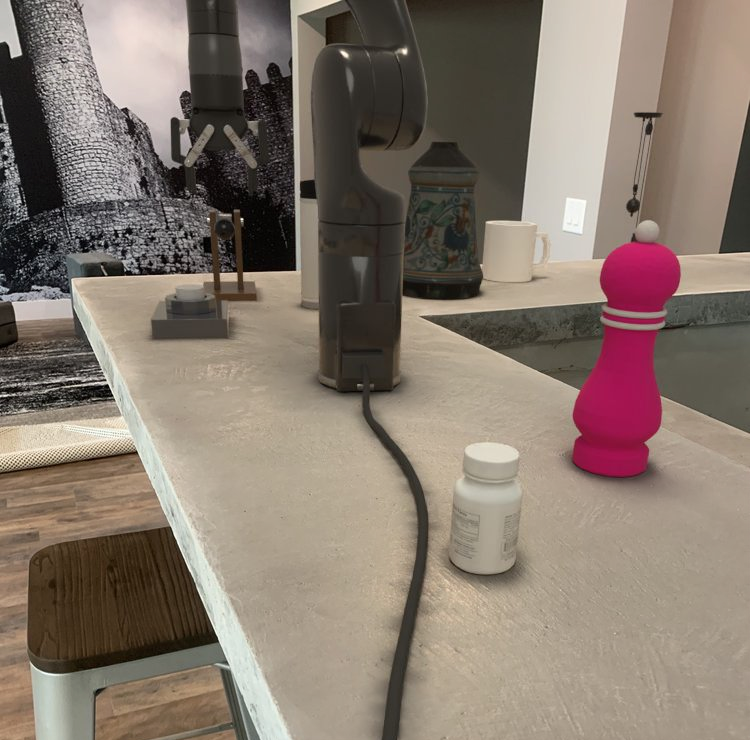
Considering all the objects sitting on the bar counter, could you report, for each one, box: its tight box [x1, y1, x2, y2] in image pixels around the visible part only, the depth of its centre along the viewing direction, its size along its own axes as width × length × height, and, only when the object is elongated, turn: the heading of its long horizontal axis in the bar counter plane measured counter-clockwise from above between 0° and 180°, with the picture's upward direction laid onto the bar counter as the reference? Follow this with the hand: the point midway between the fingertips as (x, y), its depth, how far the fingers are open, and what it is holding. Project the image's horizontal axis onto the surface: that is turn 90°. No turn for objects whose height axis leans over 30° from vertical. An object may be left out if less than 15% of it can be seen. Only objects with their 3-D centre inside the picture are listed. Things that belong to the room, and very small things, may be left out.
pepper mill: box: [571, 219, 682, 478], centre depth 62 cm, size 7×7×20 cm
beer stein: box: [402, 141, 483, 300], centre depth 137 cm, size 16×19×25 cm
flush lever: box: [214, 213, 235, 241], centre depth 123 cm, size 14×3×3 cm, turn 9°
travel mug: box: [299, 178, 319, 310], centre depth 122 cm, size 6×7×20 cm
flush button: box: [174, 283, 205, 300], centre depth 107 cm, size 4×4×2 cm
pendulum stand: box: [202, 208, 258, 302], centre depth 131 cm, size 12×9×14 cm
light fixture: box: [625, 111, 664, 242], centre depth 163 cm, size 10×8×31 cm
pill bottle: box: [448, 441, 524, 575], centre depth 49 cm, size 4×4×8 cm
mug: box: [481, 220, 552, 283], centre depth 155 cm, size 14×10×11 cm
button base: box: [150, 292, 230, 340], centre depth 109 cm, size 13×10×4 cm
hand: (222, 194), depth 116 cm, fingers open, 8 cm apart
